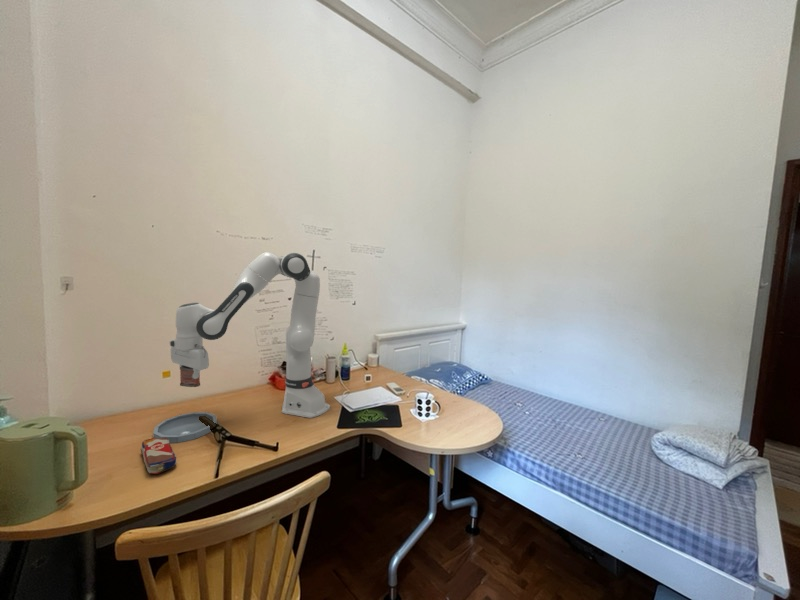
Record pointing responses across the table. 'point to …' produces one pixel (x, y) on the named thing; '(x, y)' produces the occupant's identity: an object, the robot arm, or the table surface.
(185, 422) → the dish
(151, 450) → the pencil case
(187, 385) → the lighter
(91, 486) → the table surface
